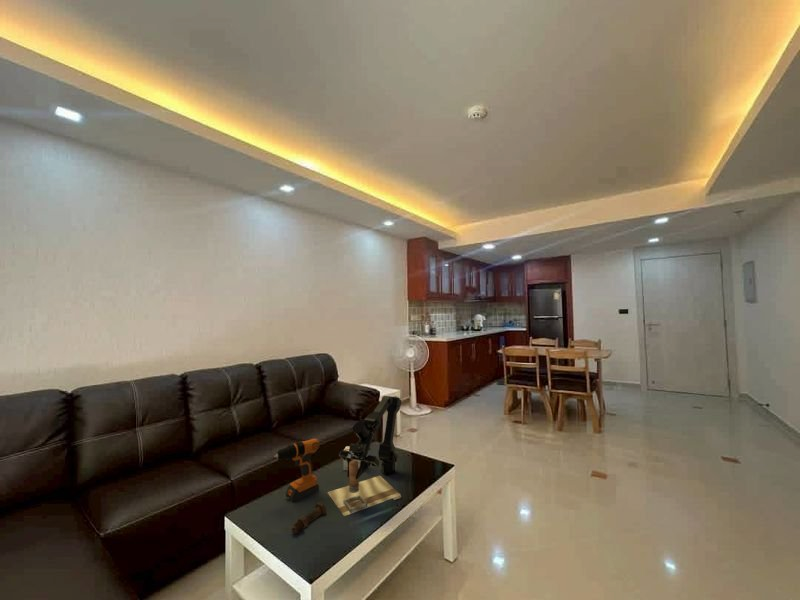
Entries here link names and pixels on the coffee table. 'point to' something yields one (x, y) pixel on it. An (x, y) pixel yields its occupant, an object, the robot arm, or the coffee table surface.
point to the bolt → (309, 517)
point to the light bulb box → (345, 464)
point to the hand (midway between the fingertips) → (352, 478)
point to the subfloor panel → (363, 495)
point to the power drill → (302, 459)
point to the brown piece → (353, 477)
